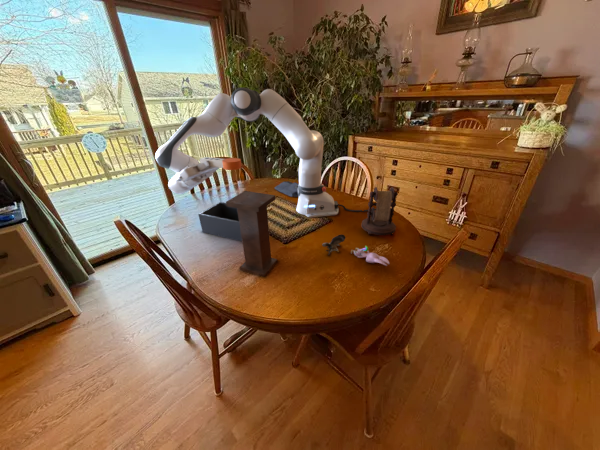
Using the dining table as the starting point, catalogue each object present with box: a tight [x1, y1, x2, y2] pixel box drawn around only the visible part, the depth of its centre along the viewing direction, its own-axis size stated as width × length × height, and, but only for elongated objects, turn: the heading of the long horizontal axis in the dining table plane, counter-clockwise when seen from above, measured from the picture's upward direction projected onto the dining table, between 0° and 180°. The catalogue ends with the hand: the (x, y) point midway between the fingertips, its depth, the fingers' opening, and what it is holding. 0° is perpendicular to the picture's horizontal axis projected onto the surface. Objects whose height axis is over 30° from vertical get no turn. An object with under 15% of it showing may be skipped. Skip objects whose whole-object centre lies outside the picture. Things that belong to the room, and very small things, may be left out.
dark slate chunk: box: [274, 180, 299, 198], centre depth 151 cm, size 15×22×5 cm
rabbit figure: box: [350, 245, 390, 267], centre depth 85 cm, size 6×6×15 cm
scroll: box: [360, 186, 399, 236], centre depth 102 cm, size 15×15×20 cm
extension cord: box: [199, 156, 243, 171], centre depth 94 cm, size 18×7×3 cm, turn 67°
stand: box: [225, 190, 278, 278], centre depth 79 cm, size 11×10×26 cm
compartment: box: [197, 201, 242, 242], centre depth 106 cm, size 23×15×9 cm, turn 67°
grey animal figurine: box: [321, 233, 347, 256], centre depth 91 cm, size 8×7×9 cm
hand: (212, 161), depth 95 cm, fingers closed on extension cord, 3 cm apart
